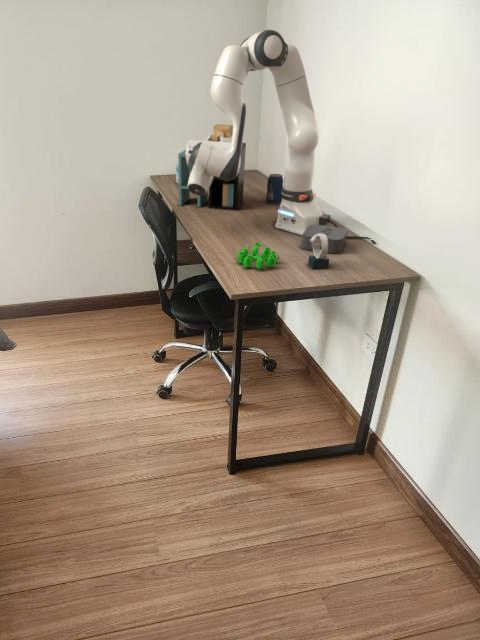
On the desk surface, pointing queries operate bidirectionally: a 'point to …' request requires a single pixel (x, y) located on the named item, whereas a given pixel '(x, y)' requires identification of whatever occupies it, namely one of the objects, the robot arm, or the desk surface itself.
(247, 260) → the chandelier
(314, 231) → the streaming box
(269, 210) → the desk surface
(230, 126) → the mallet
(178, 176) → the light bulb box
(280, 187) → the soda can
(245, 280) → the desk surface
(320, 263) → the watch
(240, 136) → the robot arm
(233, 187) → the shelf
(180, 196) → the stand
